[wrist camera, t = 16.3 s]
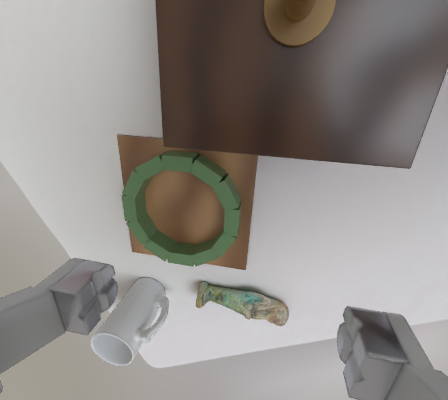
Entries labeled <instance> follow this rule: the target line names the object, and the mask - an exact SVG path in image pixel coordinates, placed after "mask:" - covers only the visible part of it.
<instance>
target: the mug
mask: <svg viewBox="0 0 448 400" xmlns="http://www.w3.org/2000/svg"><path fill="white" fill-rule="evenodd" d="M160 307H162V310H161V314H160V317H159V319H158V320H157V321H156V323H155V324H154V325H153V326H152V327H150V326H151V324H152V322H153V320H154V318H155V316H156V314H157V312H158V310H159V308H160ZM168 307H169V300H168V298H167V297H165V290H164V288H163V286H162V285H161V284H160V283H159V282H157V281H156V280H154V279H151V278H140V279H138V280H137V281H136V282H135V283H134V285H133V286H132V287H131V288H130V290H129V291H128V292H127V293H126V295H125V296H124V297H123V299H122V300H121V301H120V303H119V304H118V305H117V306H116V308H115V309H114V310H113V311H112V313H111V314H110V315H109V317H108V318H107V319H106V320H105V322H104V323H103V324H102V326H101V327H100V328H99V329H98V331H97V332H96V334H95V335H94V336H93V337H92V339H91V347H92V349H93V351H94V352H95V353H96V354H97V355H98V356H99V357H100V358H101V359H103V360H104V361H106V362H108V363H111V364H114V365H118V366H124V365H128V364H130V363H131V362H132V361H133V359H134V357H135V355H136V353H137V352H138V350H139V348H140V346H141V344H142V342H147V343H148V342H149V341H150V339H151V338H152V337H153V336H154V335H155V333H156V332H157V331H158V330H159V329H160V327H161V326H162V325H163V323H164V321H165V319H166V317H167V314H168Z"/></svg>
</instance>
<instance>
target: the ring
mask: <svg viewBox="0 0 448 400" xmlns="http://www.w3.org/2000/svg"><path fill="white" fill-rule="evenodd" d="M164 170H169V171H179V172H188V173H191V174H193V175H194V176H196V177H197V178H199V179H200V180H202V181H203V182H205V183H206V184H208V185H209V186H211V187H212V188H213V189H214V191H215V193H216V195H217V197H218V199H219V201H220V202H221V204H222V206H223V208H224V210H225V212H224V227H223V229H222V230H221V231H220V233H219V234H218V235H217V236H216V238H214V239H212V240H209V241H206V242H203V243H200V244H197V245H195V244H189V243H182V242H176V241H174V240H173V239H171V238H170V237H168V236H167V235H165V234H164V233H162V232H161V231H159V230H158V229H157V227H156V226H155V224H154V223H153V221H152V220H151V218H150V217H149V215H148V213H147V212H146V201H145V190H146V188H147V186H148V184H149V182H150V181H151V179H152V177H153V176H154V175H156V174H158V173H160V172H162V171H164ZM225 173H226V170H224V169H223V168H221V167H220V166H219V165H217V164H216V163H214V162H213V161H211V160H210V159H208V158H207V157H205V156H204V155H203V154H201V155H200V156H199V153H195V152H184V151H173V150H170V151H166V152H164V153H162V154H160V155H158V156H157V157H155V158H153V159H151V160H149V161H147V162H145V163H143V164H141V165H140V166H138V167H136V168H135V169H134V170H133V171H132V173H131V175H130V177H129V179H128V181H127V184H126V186H125V188H124V190H123V192H122V193H123V195H122V201H123V208H124V216H125V221H128V222H127V223H126V224H127V225H128V227H129V228H130V230H131V231H132V233H133V234H134V236H135V237H136V239H137V240H138V242H139V243H140V244H141V245H142V244H144V246H143V247H144V248H145V249H147V250H148V251H150V252H151V253H153V254H155V255H156V256H158V257H159V258H161V259H162V260H164V261H166V259H167V258H168V262H169V263H175V264H181V265H187V266H193V265H194V264H195V266H198V265H201V264H204V263H207V262H210V261H214V260H217V259H219V257H222V256H223V254H224V253H225V252H226V251H227V250H228V248H229V247H230V246H231V245H232V244H233V242H234V241H235V240H236V238H237V236H238V232H239V228H240V220H241V209H242V201H241V197H240V195H239V193H238V191H237V189H236V187H235V185H234V183H233V181H232V179H231V177H230V175H229V174H226V175H224V174H225Z"/></svg>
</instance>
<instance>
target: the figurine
mask: <svg viewBox="0 0 448 400" xmlns="http://www.w3.org/2000/svg"><path fill="white" fill-rule="evenodd" d="M208 301H213V302H215V303H218V304H221V305H223V306H226V307H228V308H230V309H232V310H234V311H236V312H238V313H240V314H242V315H244V316H245V318H247V319H250V318H252V319H266V320H267V321H268V322H270V323H274V324H275V325H278V326H283V325H285V324H286V322H287V320H288V316H289V312H288V307H287V306H286V305H285V304H283V303H281V302H279V301H277V300H274V299H271V298H268V297H266V296H264V295H261V294H259V293H256V292H250V291H241V290H235V289H229V288H221V287H216V286H212V285H209V284H208V283H207V282H205V281H203V282H202V283H201V286H200V289H199V292H198V295H197V300H196V307H197V308H201V307H202V306H204V305H205V304H206V303H207V302H208Z"/></svg>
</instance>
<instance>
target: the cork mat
mask: <svg viewBox="0 0 448 400" xmlns="http://www.w3.org/2000/svg"><path fill="white" fill-rule="evenodd" d="M117 138H118V146H119V154H120V161H121V169H122V177H123V185H124V188H125V186H126V184H127V181H128V179H129V177H130V175H131V173H132V171H133V170H134V169H135V168H136V167H138V166H140V165H141V164H143V163H145V162H147V161H149V160H151V159H153V158H155V157H157V156H158V155H160V154H162V153H164V152H166V151H170V150H173V151H184V152H195V153H199V156H200V155H201V154H203V155H204V156H205V157H207V158H208V159H210V160H211V161H213V162H214V163H216V164H217V165H219V166H220V167H221V168H223V169H224V170H226V173H225V174H224V175H226V174H229V175H230V177H231V179H232V181H233V183H234V185H235V187H236V189H237V191H238V193H239V195H240V197H241V201H242V209H241V220H240V228H239V232H238V236H237V238H236V240H235V241H234V242H233V244H232V245H231V246H230V247H229V248H228V250H227V251H226V252H225V253H224V254H223V256H222V257H219V259H217V260H214V261H210V262H207V263H205V264H211V265H217V266H224V267H230V268H236V269H242V270H246V263H247V254H248V244H249V234H250V225H251V215H252V205H253V196H254V186H255V176H256V167H257V157H258V155H250V154H238V153H227V152H216V151H205V150H193V149H182V148H171V147H164V146H163V138H152V137H140V136H128V135H117ZM145 201H146V212H147V213H148V215H149V217H150V218H151V220H152V221H153V223H154V224H155V226H156V227H157V229H158V230H159V231H161V232H162V233H164V234H165V235H167V236H168V237H170V238H171V239H173V240H174V241H176V242H182V243H189V244H195V245H197V244H200V243H203V242H206V241H209V240H212V239H214V238H216V236H217V235H218V234H219V233H220V231H221V230H222V229H223V227H224V212H225V210H224V208H223V206H222V204H221V202H220V201H219V199H218V197H217V195H216V193H215V191H214V189H213V188H212V187H211V186H209V185H208V184H206V183H205V182H203V181H202V180H200V179H199V178H197V177H196V176H194V175H193V174H191V173H188V172H179V171H169V170H164V171H162V172H160V173H158V174H156V175H154V176H153V177H152V179H151V181H150V182H149V184H148V186H147V188H146V190H145ZM129 231H130V239H131V247H132V252H137V253H143V254H149V255H155V254H153V253H151V252H150V251H148V250H147V249H145V248H144V247H143V246H144V244H142V245H141V244H140V243H139V242H138V240H137V239H136V237H135V236H134V234H133V233H132V231H131V230H130V228H129Z"/></svg>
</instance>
